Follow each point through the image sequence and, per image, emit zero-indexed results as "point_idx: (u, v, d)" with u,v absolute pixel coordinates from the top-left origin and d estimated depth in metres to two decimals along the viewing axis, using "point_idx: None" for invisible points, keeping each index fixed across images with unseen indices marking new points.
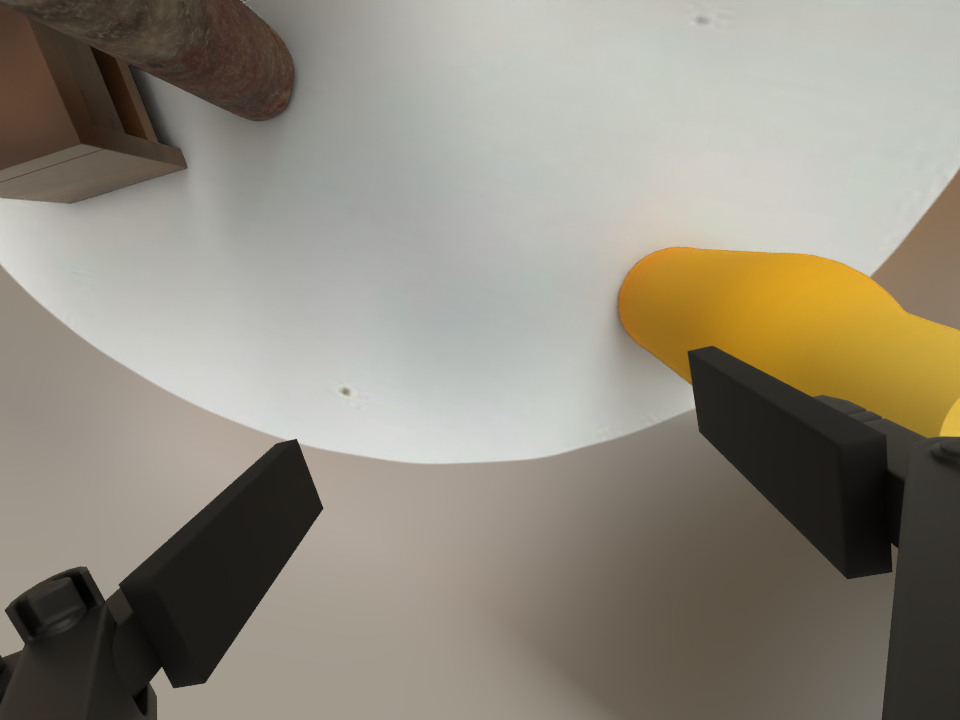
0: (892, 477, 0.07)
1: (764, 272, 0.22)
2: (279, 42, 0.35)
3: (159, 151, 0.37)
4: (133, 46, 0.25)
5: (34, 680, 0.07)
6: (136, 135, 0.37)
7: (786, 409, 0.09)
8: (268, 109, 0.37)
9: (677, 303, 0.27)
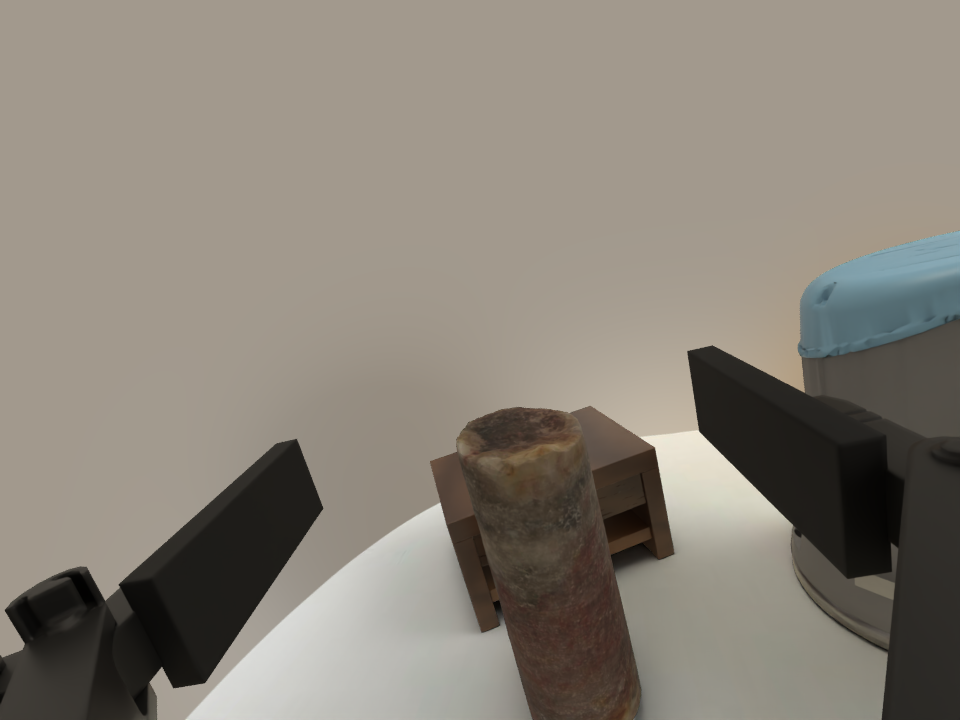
0: (893, 477, 0.07)
1: None
2: None
3: (482, 600, 0.37)
4: (480, 532, 0.26)
5: (34, 680, 0.07)
6: None
7: (786, 409, 0.09)
8: (533, 715, 0.28)
9: None
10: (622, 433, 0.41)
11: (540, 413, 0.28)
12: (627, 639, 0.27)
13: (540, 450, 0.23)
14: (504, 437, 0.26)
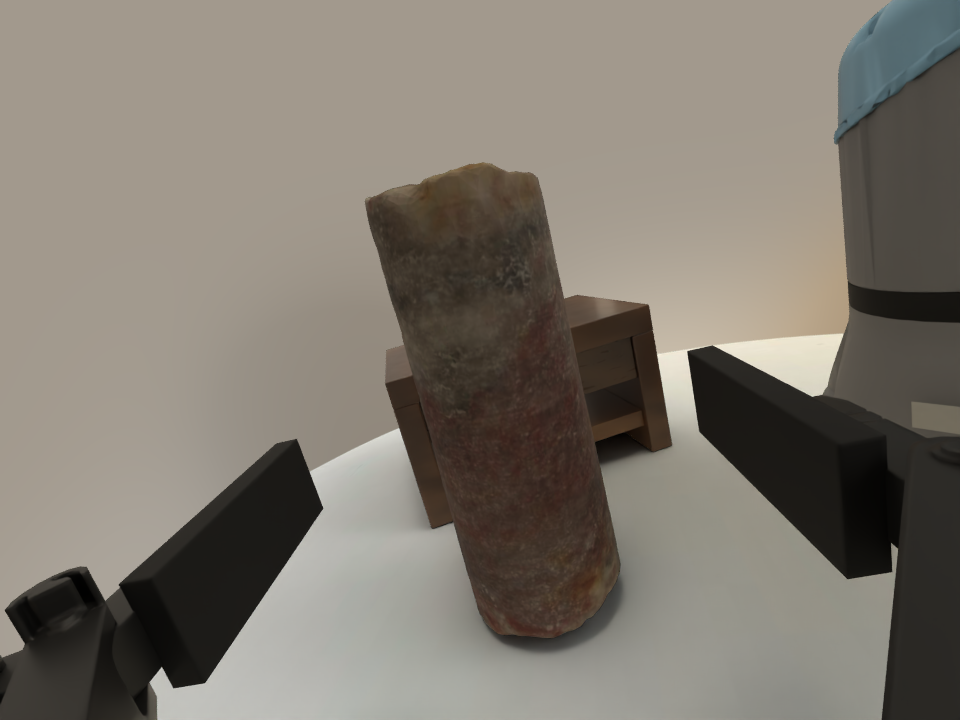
0: (892, 477, 0.07)
1: None
2: (578, 598, 0.19)
3: (432, 486, 0.30)
4: (400, 328, 0.19)
5: (34, 680, 0.07)
6: None
7: (786, 409, 0.09)
8: (475, 593, 0.21)
9: None
10: (611, 302, 0.34)
11: None
12: (600, 486, 0.20)
13: (468, 165, 0.16)
14: None
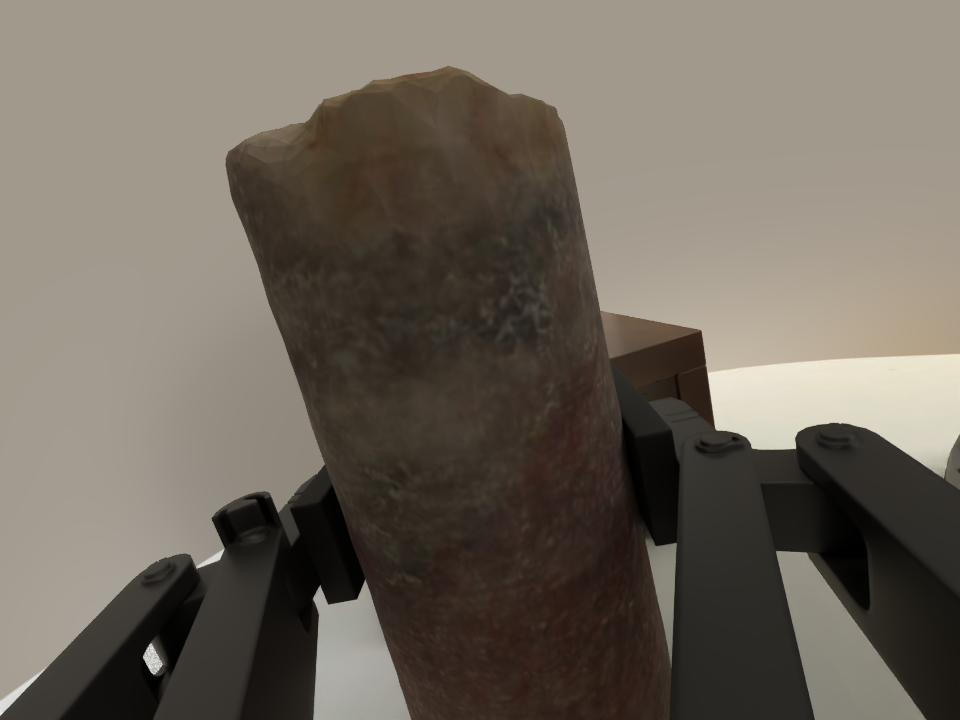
0: (677, 462, 0.09)
1: None
2: None
3: None
4: None
5: (227, 584, 0.08)
6: None
7: (620, 409, 0.11)
8: None
9: None
10: (643, 324, 0.26)
11: None
12: (668, 672, 0.11)
13: None
14: None
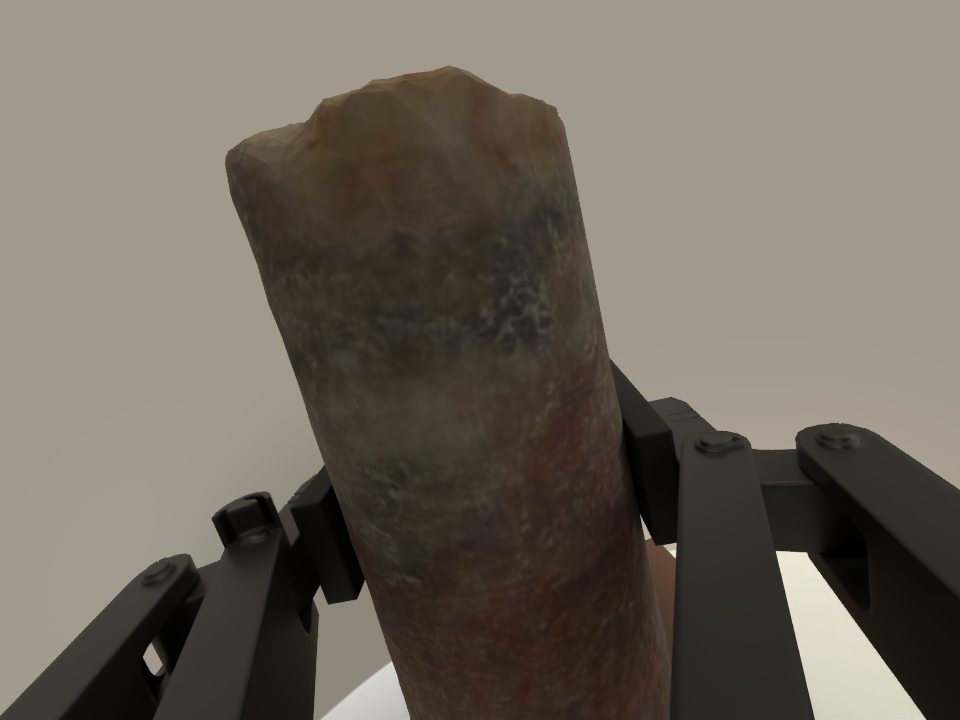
0: (677, 462, 0.09)
1: None
2: None
3: None
4: None
5: (227, 584, 0.08)
6: None
7: (620, 409, 0.11)
8: None
9: None
10: None
11: None
12: (668, 673, 0.11)
13: None
14: None
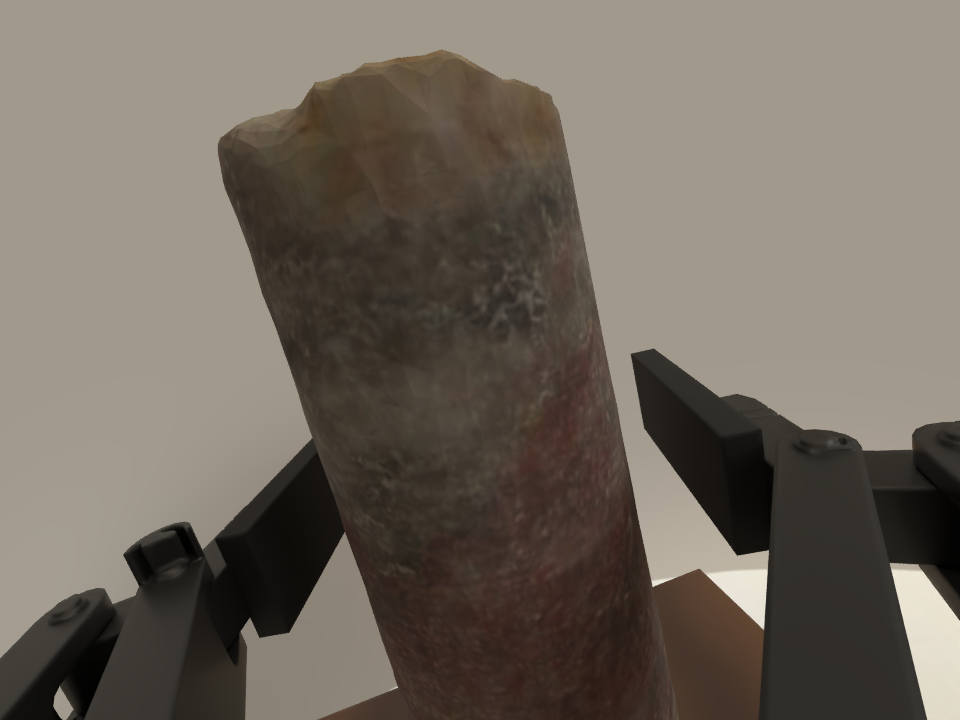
0: (767, 465, 0.09)
1: None
2: None
3: None
4: None
5: (144, 622, 0.08)
6: None
7: (692, 406, 0.10)
8: None
9: None
10: None
11: None
12: (664, 666, 0.11)
13: (408, 57, 0.07)
14: None
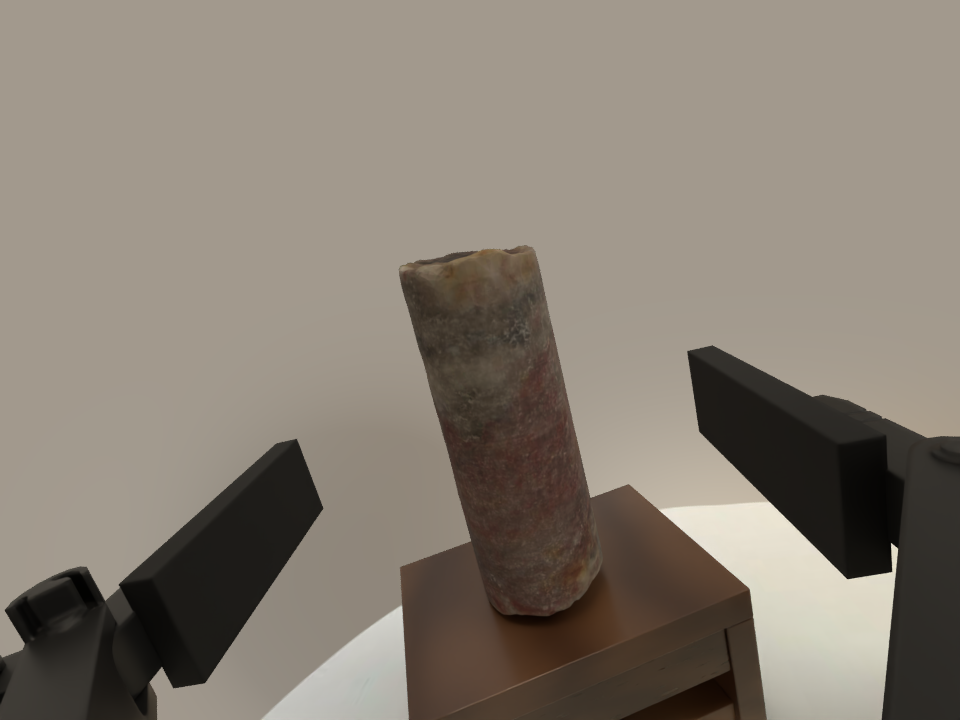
0: (892, 477, 0.07)
1: None
2: (568, 583, 0.24)
3: None
4: None
5: (33, 680, 0.07)
6: None
7: (786, 409, 0.09)
8: (485, 582, 0.26)
9: None
10: (687, 547, 0.27)
11: None
12: (586, 494, 0.25)
13: (482, 251, 0.20)
14: None
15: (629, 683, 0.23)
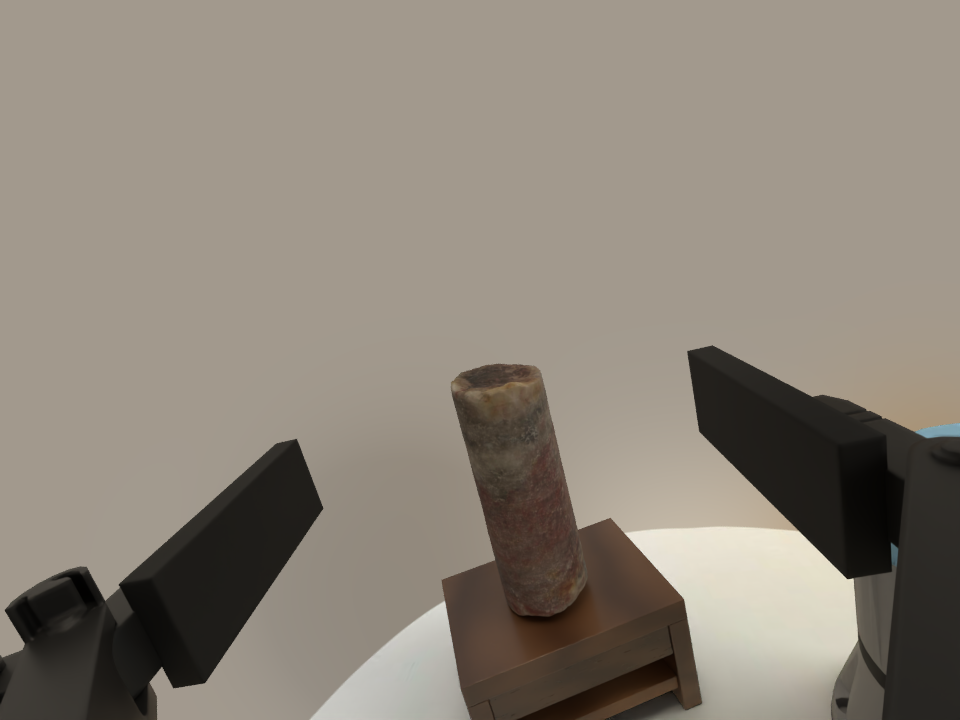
0: (893, 477, 0.07)
1: None
2: (563, 595, 0.36)
3: None
4: None
5: (33, 680, 0.07)
6: None
7: (786, 409, 0.09)
8: (506, 593, 0.38)
9: None
10: (647, 568, 0.39)
11: (513, 367, 0.37)
12: (575, 534, 0.37)
13: (508, 385, 0.32)
14: (485, 381, 0.35)
15: (603, 661, 0.35)
